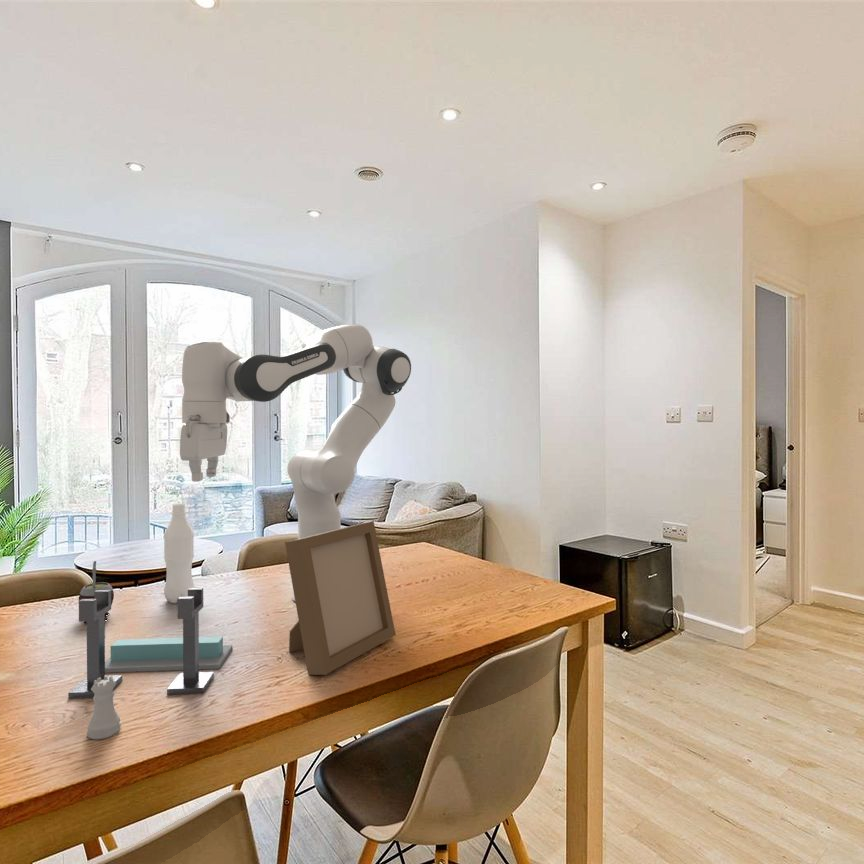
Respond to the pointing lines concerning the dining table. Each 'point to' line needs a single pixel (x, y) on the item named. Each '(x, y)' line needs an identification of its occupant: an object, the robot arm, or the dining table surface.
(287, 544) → the photo frame
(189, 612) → the forked support stand
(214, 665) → the mat
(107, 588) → the mate gourd
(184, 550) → the water bottle
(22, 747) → the dining table surface
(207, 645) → the rail
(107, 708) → the rook chess piece
